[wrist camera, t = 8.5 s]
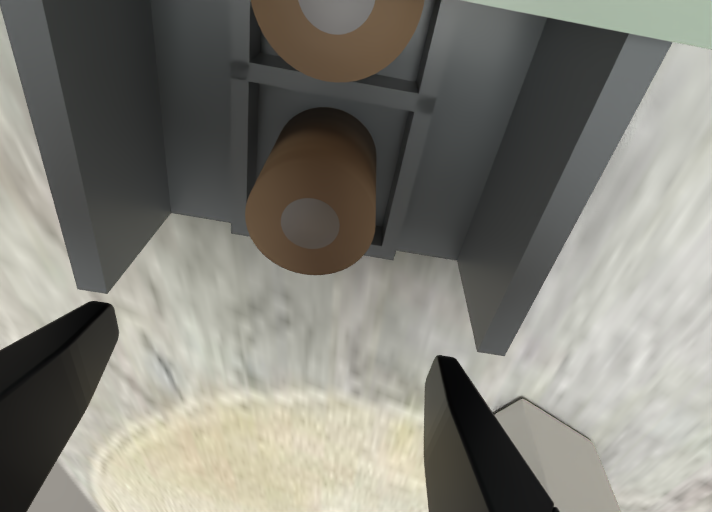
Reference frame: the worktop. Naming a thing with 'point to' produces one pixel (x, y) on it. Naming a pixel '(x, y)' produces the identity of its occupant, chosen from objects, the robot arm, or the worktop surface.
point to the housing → (340, 91)
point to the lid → (627, 16)
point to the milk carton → (559, 459)
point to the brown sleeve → (316, 194)
